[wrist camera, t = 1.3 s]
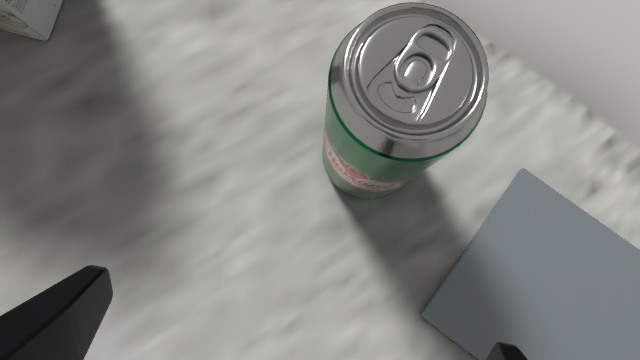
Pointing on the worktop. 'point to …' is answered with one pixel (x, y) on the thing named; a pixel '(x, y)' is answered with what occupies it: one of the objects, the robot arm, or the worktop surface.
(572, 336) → the slate mat
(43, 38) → the coffee box
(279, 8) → the worktop surface
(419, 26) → the soda can
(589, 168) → the worktop surface
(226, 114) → the worktop surface
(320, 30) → the worktop surface
